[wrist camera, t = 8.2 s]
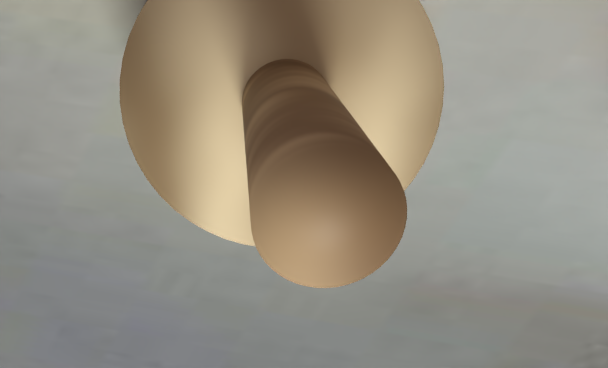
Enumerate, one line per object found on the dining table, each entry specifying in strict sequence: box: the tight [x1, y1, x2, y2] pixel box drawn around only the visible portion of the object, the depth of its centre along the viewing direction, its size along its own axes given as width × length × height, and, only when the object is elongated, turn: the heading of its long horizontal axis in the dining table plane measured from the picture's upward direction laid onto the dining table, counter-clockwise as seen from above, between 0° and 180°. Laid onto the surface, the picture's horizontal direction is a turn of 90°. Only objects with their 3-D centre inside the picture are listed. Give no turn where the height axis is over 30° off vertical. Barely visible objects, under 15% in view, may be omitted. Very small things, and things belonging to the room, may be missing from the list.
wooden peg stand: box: [120, 0, 444, 288], centre depth 19 cm, size 13×13×12 cm
